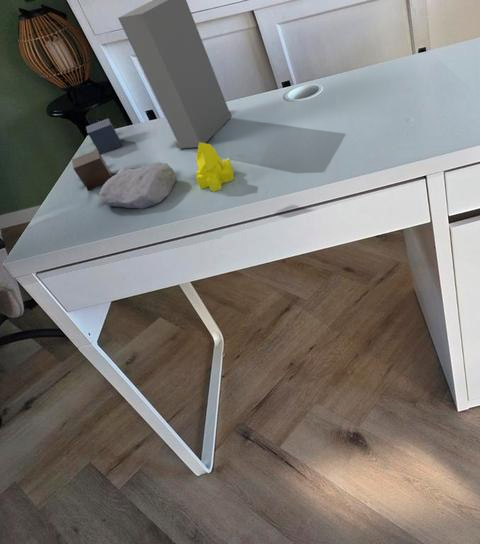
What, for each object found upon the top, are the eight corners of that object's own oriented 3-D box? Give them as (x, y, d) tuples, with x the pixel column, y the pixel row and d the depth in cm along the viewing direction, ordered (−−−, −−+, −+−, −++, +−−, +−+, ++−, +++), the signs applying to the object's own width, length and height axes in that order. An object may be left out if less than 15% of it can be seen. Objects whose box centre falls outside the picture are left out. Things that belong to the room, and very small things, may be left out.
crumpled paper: (233, 165, 89) (217, 125, 84) (233, 186, 83) (215, 144, 78) (202, 173, 89) (184, 134, 84) (200, 195, 83) (180, 154, 78)
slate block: (100, 154, 106) (87, 133, 103) (98, 147, 110) (85, 126, 107) (122, 145, 108) (110, 124, 105) (119, 138, 111) (108, 118, 108)
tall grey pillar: (209, 119, 110) (157, -4, 94) (232, 117, 108) (183, -9, 92) (177, 149, 100) (113, 18, 84) (202, 148, 98) (142, 13, 82)
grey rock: (165, 214, 84) (181, 174, 90) (149, 194, 80) (167, 154, 86) (107, 222, 87) (126, 183, 93) (88, 204, 83) (110, 164, 89)
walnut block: (88, 191, 93) (73, 168, 90) (86, 181, 97) (71, 159, 94) (114, 180, 94) (100, 157, 91) (111, 171, 98) (97, 149, 95)
